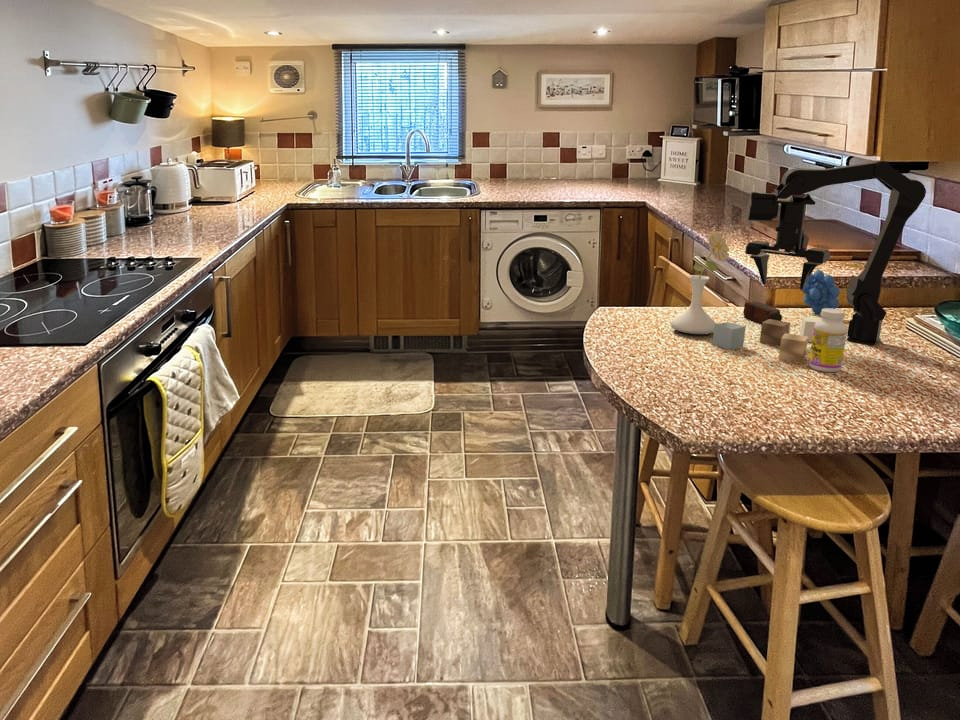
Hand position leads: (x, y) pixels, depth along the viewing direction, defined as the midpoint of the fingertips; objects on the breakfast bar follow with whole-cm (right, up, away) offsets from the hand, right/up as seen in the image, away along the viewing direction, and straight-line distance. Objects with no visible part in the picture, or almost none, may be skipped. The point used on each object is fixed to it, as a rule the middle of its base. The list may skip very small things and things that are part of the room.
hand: (782, 287), depth 214 cm
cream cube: (+7, -13, 0) cm, 15 cm away
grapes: (+18, -5, +27) cm, 33 cm away
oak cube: (-4, -17, -17) cm, 25 cm away
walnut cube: (-4, -14, -4) cm, 15 cm away
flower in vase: (-20, -11, +3) cm, 23 cm away
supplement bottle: (+1, -20, -24) cm, 31 cm away
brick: (0, -8, +16) cm, 18 cm away
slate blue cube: (-16, -15, -9) cm, 23 cm away
